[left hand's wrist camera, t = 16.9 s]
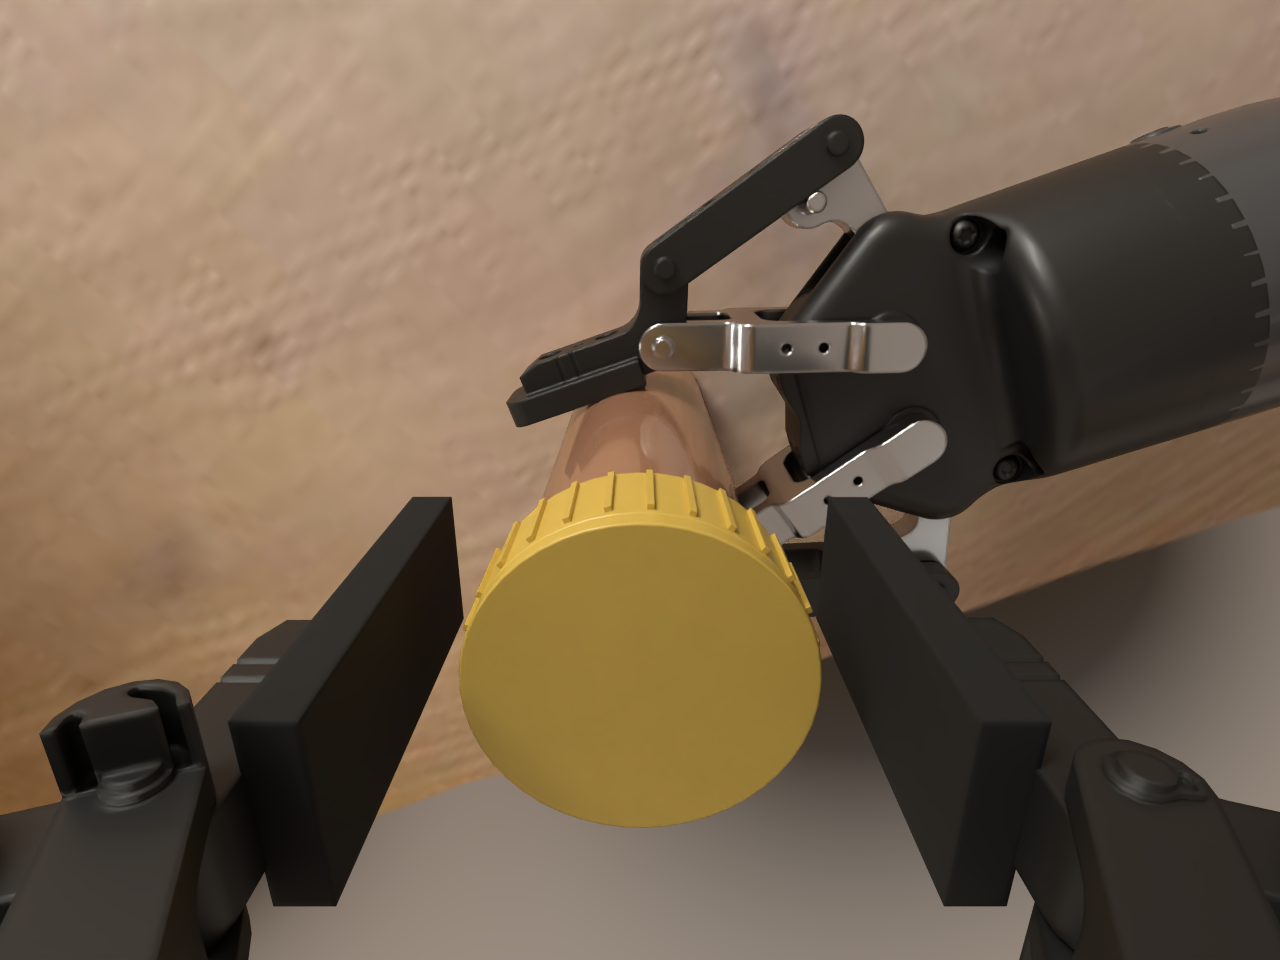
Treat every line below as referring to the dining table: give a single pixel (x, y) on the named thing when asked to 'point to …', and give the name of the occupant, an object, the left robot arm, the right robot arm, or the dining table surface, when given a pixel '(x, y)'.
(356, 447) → the dining table surface
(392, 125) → the dining table surface
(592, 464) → the jar
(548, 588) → the lid
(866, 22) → the dining table surface
